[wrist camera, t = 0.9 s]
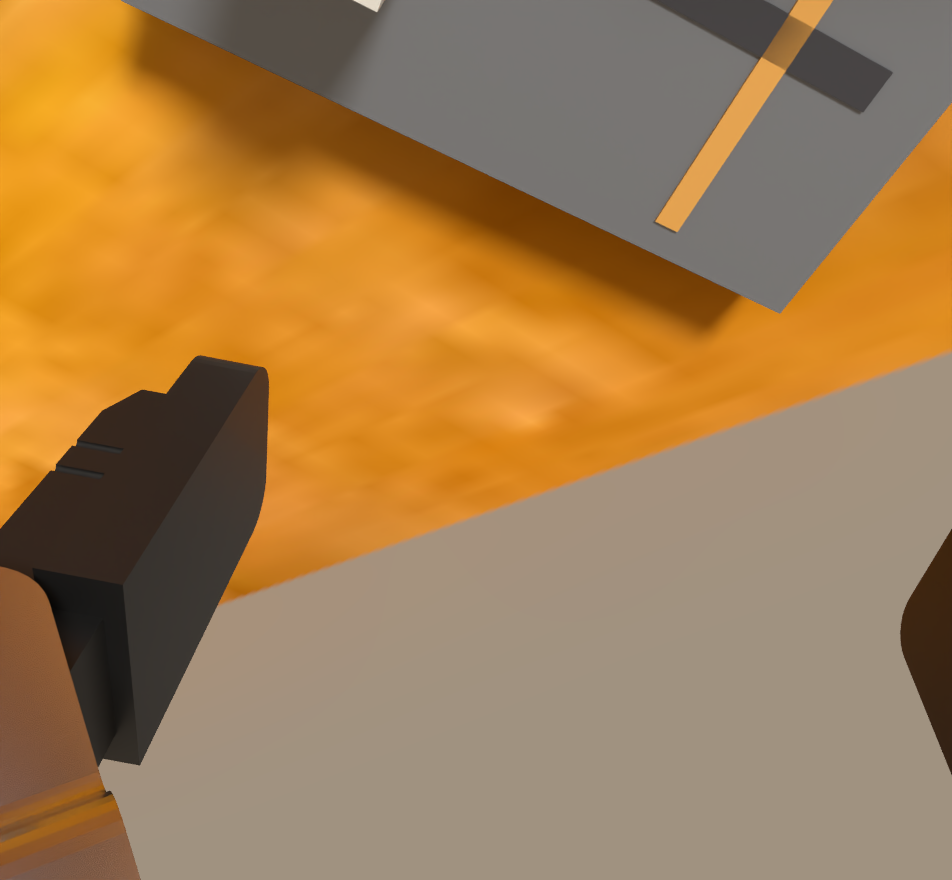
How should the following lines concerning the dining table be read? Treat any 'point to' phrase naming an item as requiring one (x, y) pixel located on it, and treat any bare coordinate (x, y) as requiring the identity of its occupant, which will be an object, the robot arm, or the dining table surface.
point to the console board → (635, 106)
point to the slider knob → (371, 4)
